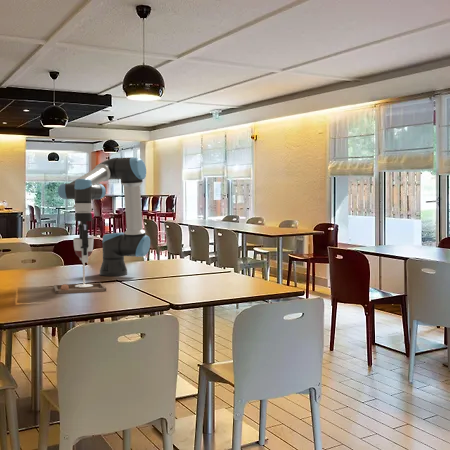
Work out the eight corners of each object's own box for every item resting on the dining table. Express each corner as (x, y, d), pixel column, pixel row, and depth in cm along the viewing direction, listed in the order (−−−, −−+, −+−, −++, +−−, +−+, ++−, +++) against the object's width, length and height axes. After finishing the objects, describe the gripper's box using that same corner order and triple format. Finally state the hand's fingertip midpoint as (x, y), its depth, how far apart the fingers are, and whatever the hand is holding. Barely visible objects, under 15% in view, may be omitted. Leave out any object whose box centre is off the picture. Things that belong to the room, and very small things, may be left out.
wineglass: (97, 284, 270) (97, 237, 269) (86, 287, 261) (86, 239, 260) (81, 283, 273) (81, 237, 271) (69, 286, 264) (69, 238, 262)
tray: (101, 287, 276) (101, 282, 276) (106, 293, 261) (106, 288, 261) (54, 289, 269) (54, 285, 269) (56, 295, 254) (55, 290, 254)
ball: (68, 291, 261) (68, 283, 261) (69, 292, 258) (68, 284, 258) (60, 291, 260) (60, 283, 260) (60, 292, 257) (60, 285, 257)
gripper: (73, 211, 274) (73, 258, 275) (77, 213, 253) (77, 264, 255) (89, 211, 276) (89, 258, 277) (94, 213, 256) (94, 263, 257)
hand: (83, 261), depth 266 cm, fingers closed on wineglass, 9 cm apart
